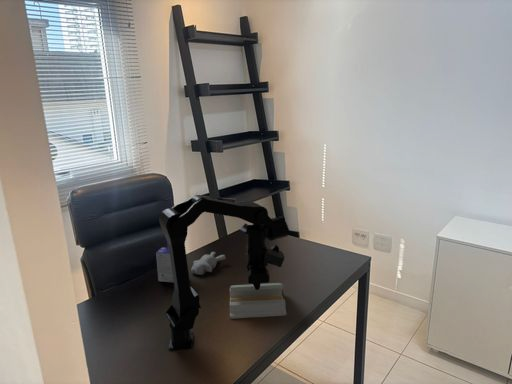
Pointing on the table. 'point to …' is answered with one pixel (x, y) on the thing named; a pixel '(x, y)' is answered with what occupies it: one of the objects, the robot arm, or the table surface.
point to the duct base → (257, 303)
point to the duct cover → (251, 287)
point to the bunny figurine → (206, 263)
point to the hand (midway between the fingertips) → (257, 289)
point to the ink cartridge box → (164, 265)
